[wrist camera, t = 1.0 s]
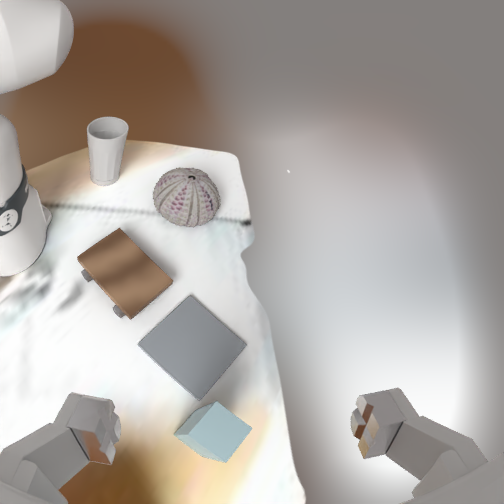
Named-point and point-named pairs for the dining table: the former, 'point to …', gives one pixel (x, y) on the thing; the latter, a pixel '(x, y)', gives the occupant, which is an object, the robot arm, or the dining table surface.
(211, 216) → the sea urchin shell
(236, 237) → the dining table surface
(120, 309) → the walnut slab on rollers
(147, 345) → the grey tile
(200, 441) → the teal-grey block
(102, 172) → the cup
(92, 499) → the dining table surface
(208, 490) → the dining table surface
